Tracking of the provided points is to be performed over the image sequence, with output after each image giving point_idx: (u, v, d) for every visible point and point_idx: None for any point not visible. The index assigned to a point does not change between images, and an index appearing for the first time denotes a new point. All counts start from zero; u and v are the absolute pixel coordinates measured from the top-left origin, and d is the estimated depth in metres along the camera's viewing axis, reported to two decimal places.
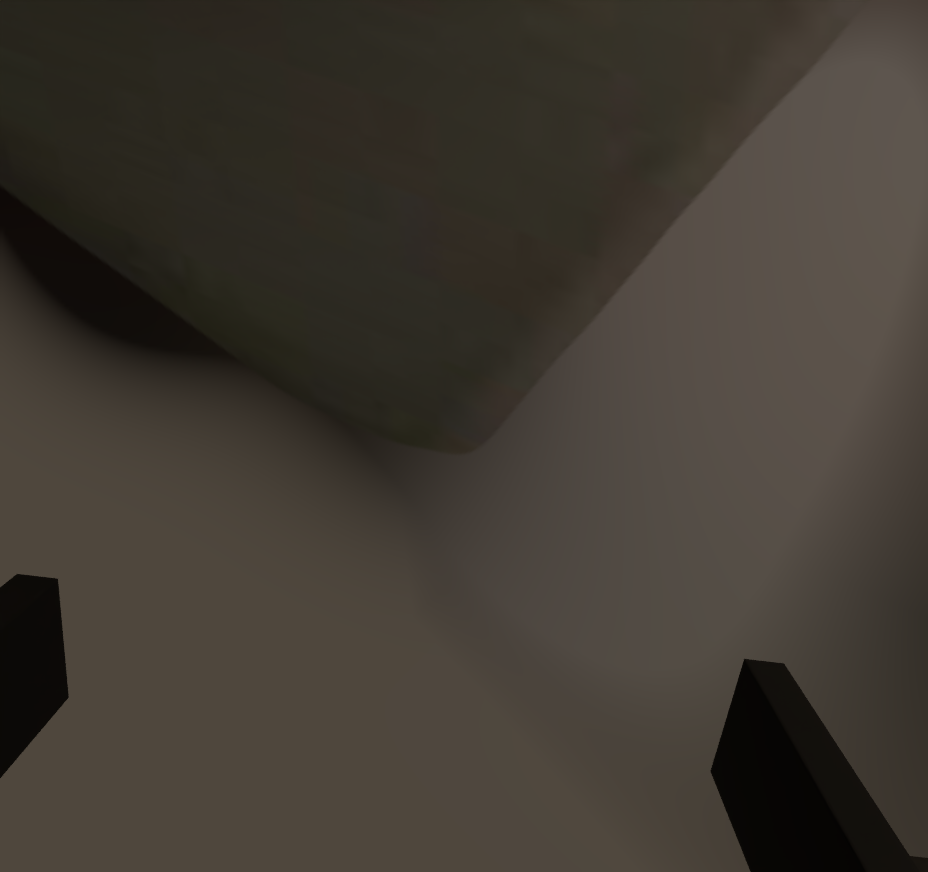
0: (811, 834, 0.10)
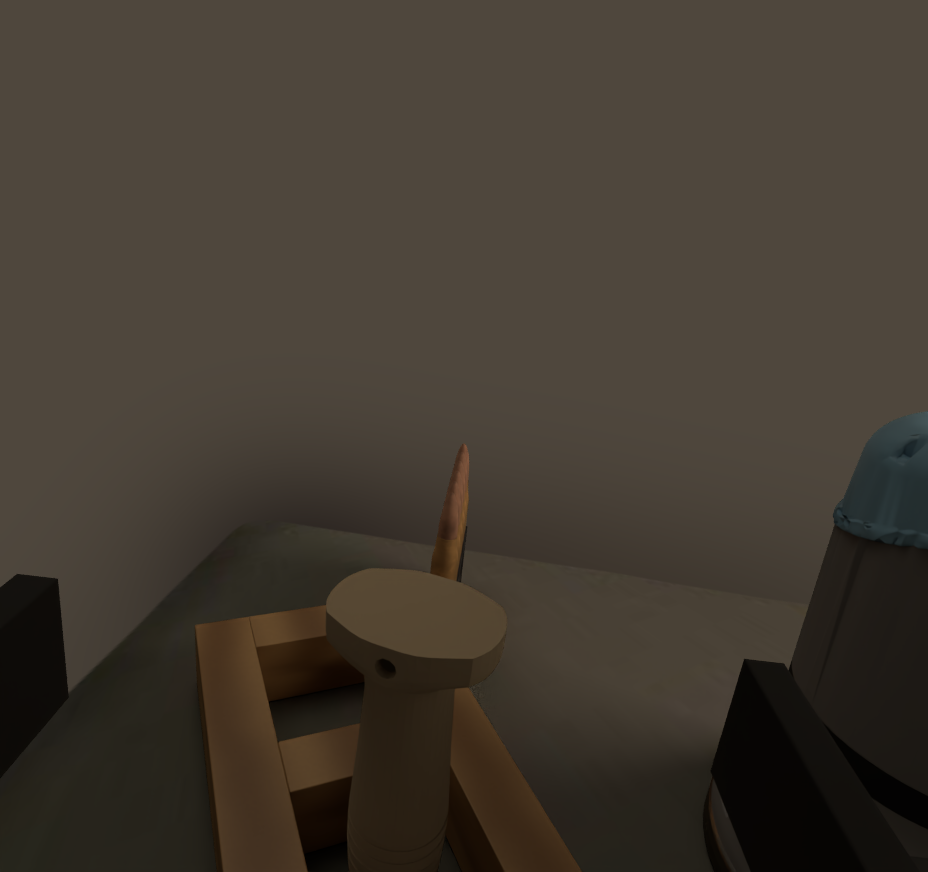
0: (811, 834, 0.10)
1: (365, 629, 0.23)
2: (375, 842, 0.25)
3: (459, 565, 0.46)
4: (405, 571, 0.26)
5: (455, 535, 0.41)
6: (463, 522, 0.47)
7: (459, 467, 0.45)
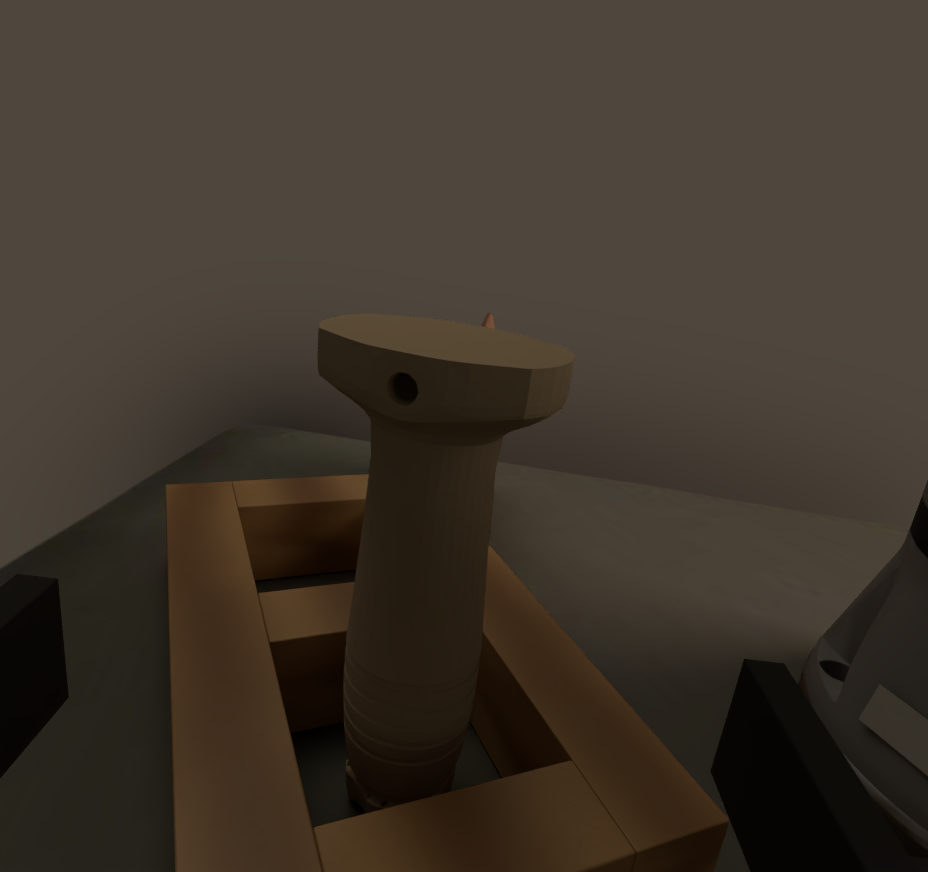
0: (811, 834, 0.10)
1: (374, 341, 0.16)
2: (382, 680, 0.18)
3: None
4: (428, 319, 0.19)
5: None
6: None
7: None
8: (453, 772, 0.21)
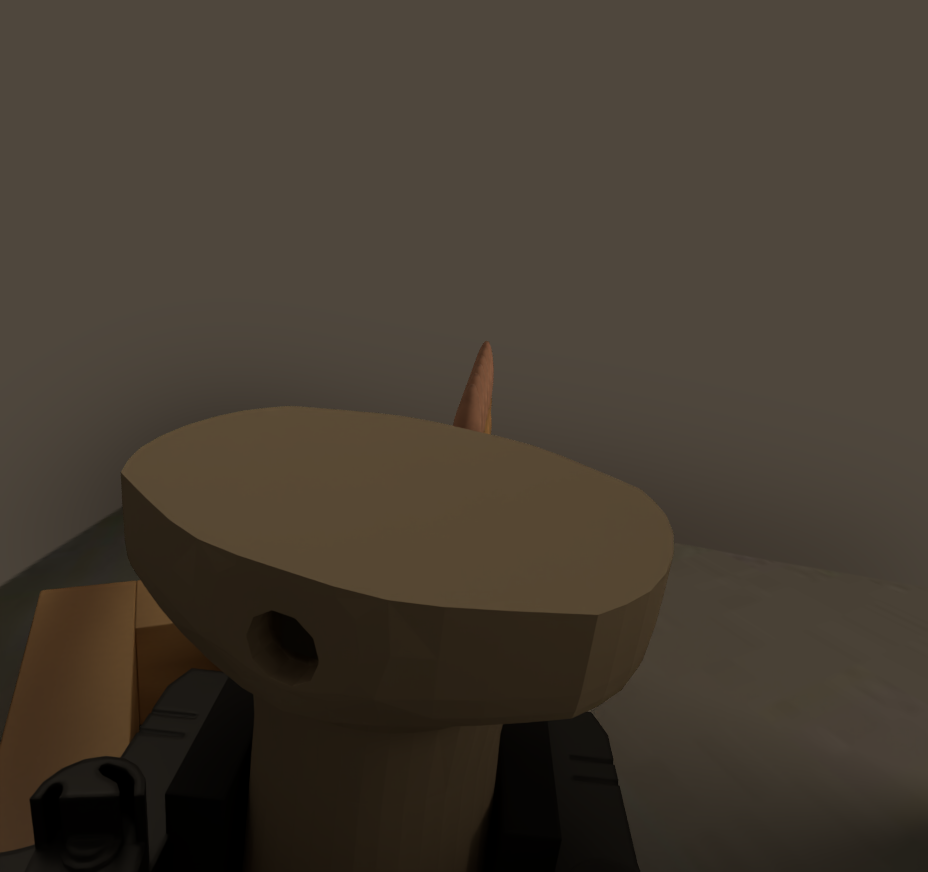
0: None
1: (228, 518, 0.07)
2: None
3: None
4: (378, 415, 0.10)
5: None
6: None
7: (481, 364, 0.30)
8: None
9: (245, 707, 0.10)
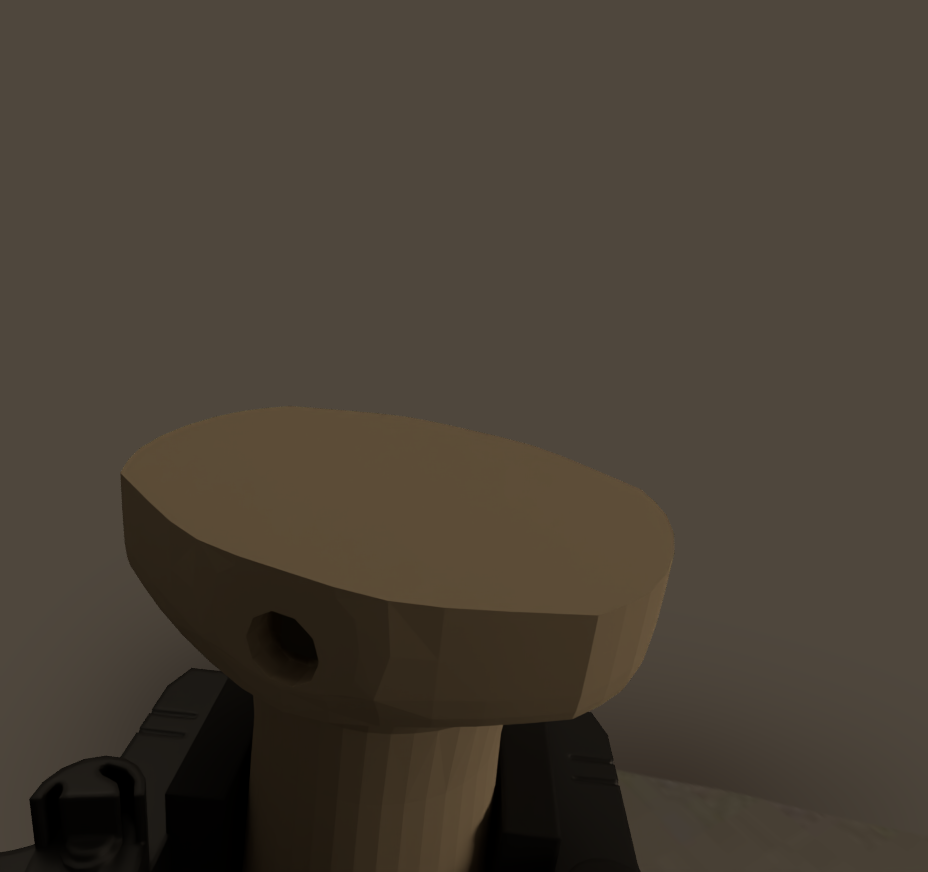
0: None
1: (228, 517, 0.07)
2: None
3: None
4: (378, 416, 0.10)
5: None
6: None
7: None
8: None
9: (245, 707, 0.10)
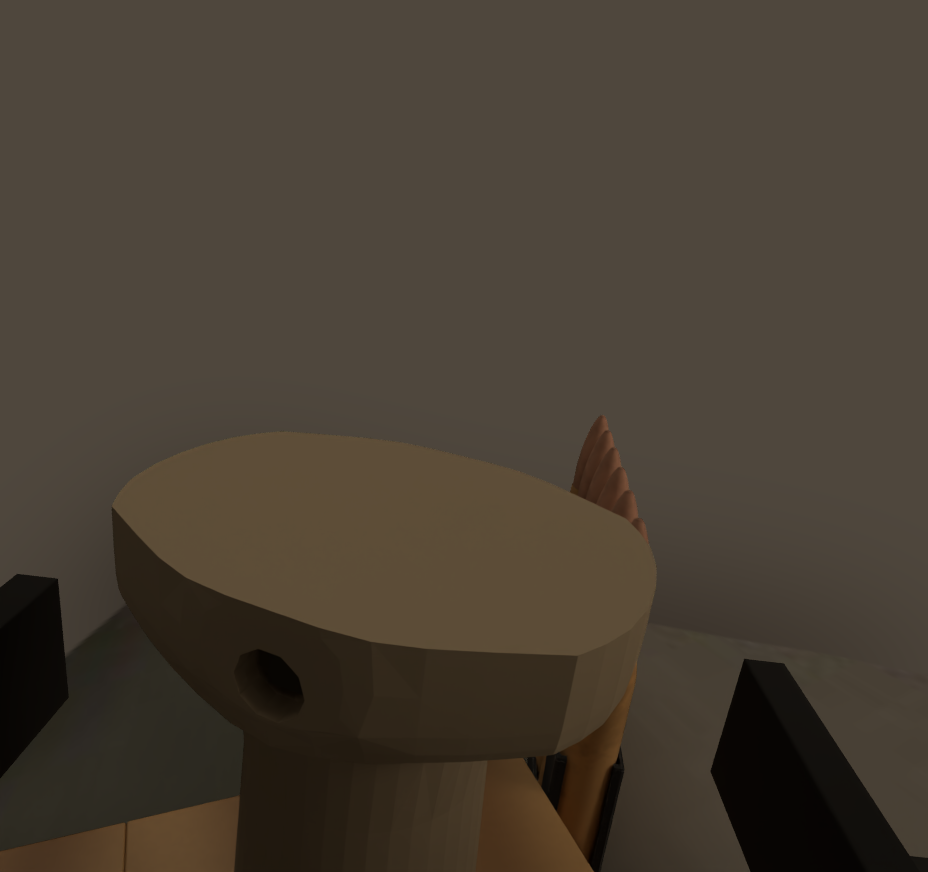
0: (811, 834, 0.10)
1: (216, 553, 0.07)
2: None
3: None
4: (368, 441, 0.11)
5: None
6: None
7: (614, 460, 0.21)
8: None
9: None
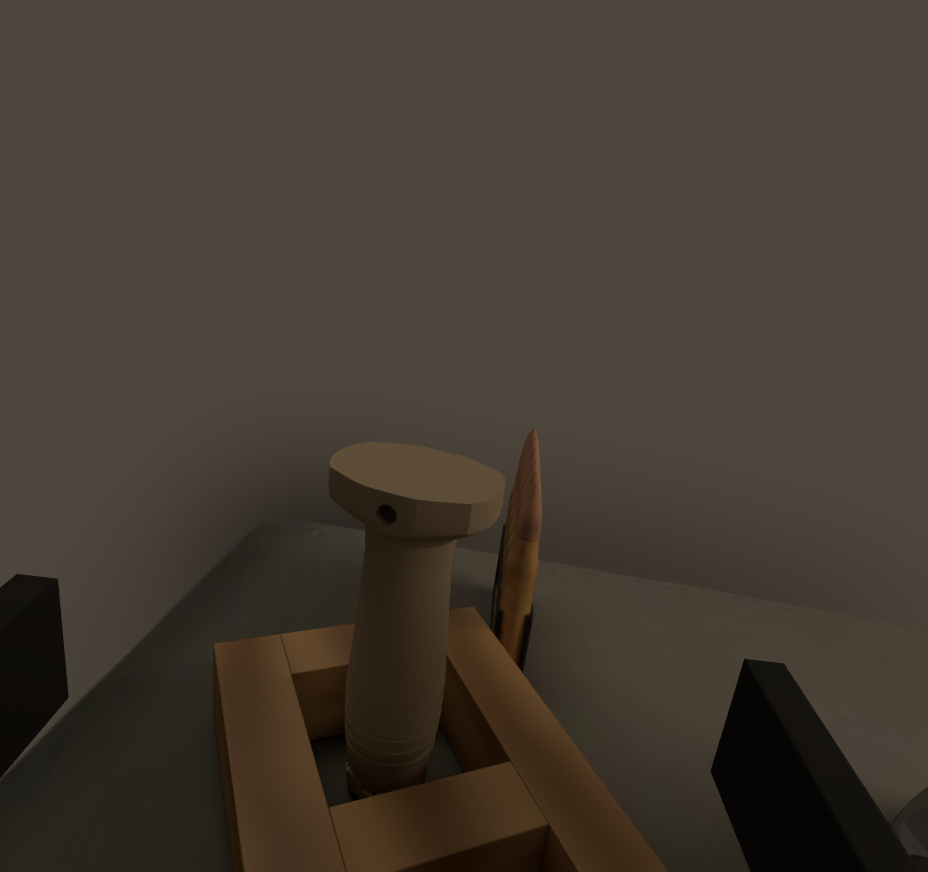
0: (811, 834, 0.10)
1: (367, 479, 0.23)
2: (373, 706, 0.26)
3: None
4: (406, 445, 0.27)
5: (537, 536, 0.33)
6: None
7: (534, 455, 0.37)
8: (425, 771, 0.29)
9: None
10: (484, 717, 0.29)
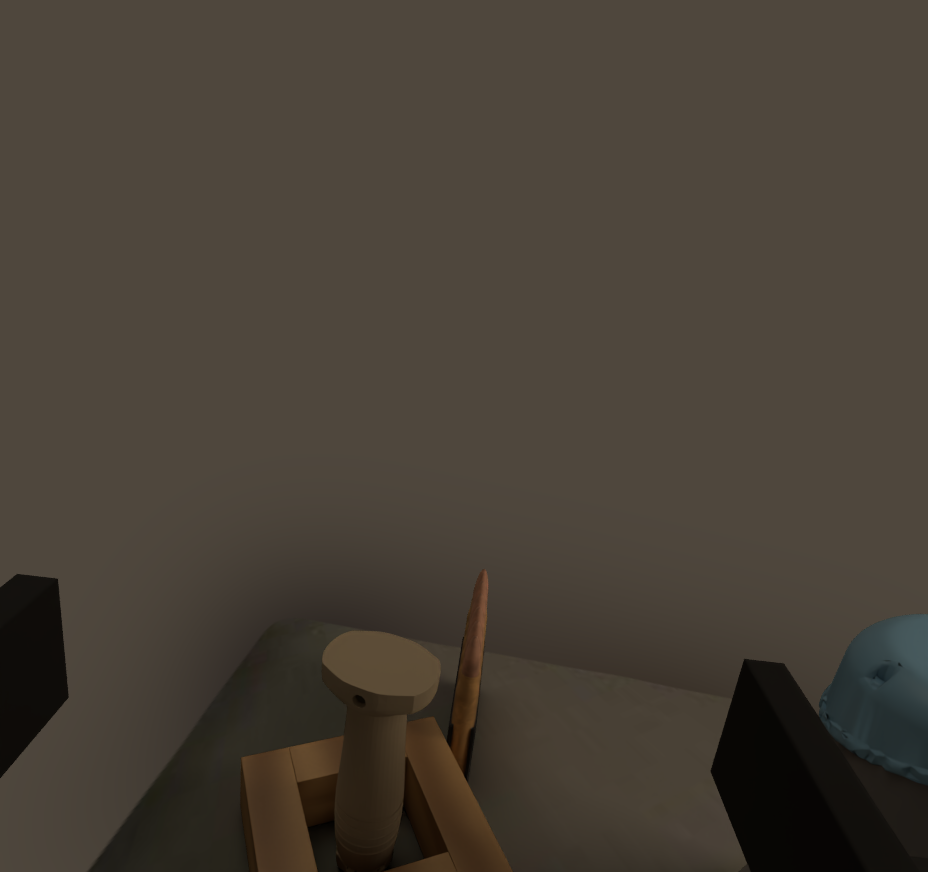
0: (811, 834, 0.10)
1: (347, 675, 0.35)
2: (353, 815, 0.38)
3: (479, 688, 0.50)
4: (376, 633, 0.39)
5: (477, 673, 0.45)
6: (483, 647, 0.51)
7: (480, 599, 0.49)
8: (392, 853, 0.41)
9: None
10: (432, 816, 0.41)
